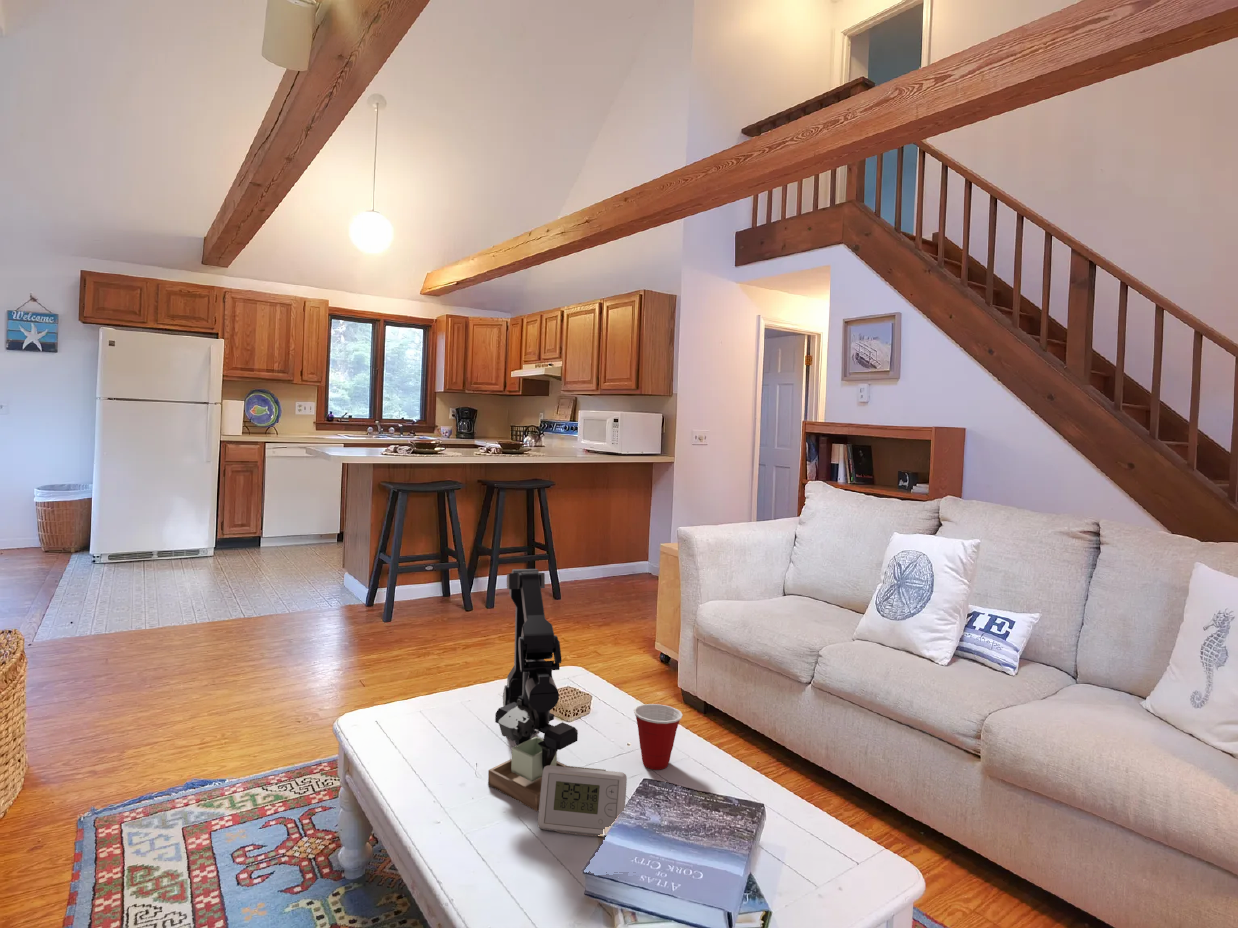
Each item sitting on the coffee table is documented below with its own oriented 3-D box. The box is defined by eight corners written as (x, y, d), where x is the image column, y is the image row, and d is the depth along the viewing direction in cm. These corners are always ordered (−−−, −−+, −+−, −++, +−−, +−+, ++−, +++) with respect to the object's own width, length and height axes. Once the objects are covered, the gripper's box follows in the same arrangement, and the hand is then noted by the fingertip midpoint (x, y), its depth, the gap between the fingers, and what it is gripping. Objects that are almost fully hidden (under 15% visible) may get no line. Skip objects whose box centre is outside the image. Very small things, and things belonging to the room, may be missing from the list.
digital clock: (532, 830, 128) (534, 774, 128) (552, 805, 137) (554, 752, 136) (616, 850, 123) (618, 792, 123) (631, 823, 132) (633, 768, 131)
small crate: (535, 758, 148) (536, 736, 148) (556, 768, 144) (557, 745, 144) (511, 771, 142) (511, 747, 142) (531, 781, 139) (532, 757, 138)
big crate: (531, 763, 153) (531, 749, 153) (579, 786, 144) (579, 771, 144) (488, 784, 143) (488, 769, 143) (536, 811, 134) (537, 795, 134)
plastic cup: (687, 759, 157) (690, 707, 156) (668, 780, 148) (671, 725, 147) (644, 746, 162) (646, 696, 161) (623, 766, 153) (625, 713, 152)
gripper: (475, 689, 142) (474, 763, 143) (540, 717, 130) (538, 797, 131) (516, 675, 150) (514, 744, 152) (580, 699, 139) (578, 775, 140)
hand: (534, 764), depth 143 cm, fingers closed on small crate, 6 cm apart
